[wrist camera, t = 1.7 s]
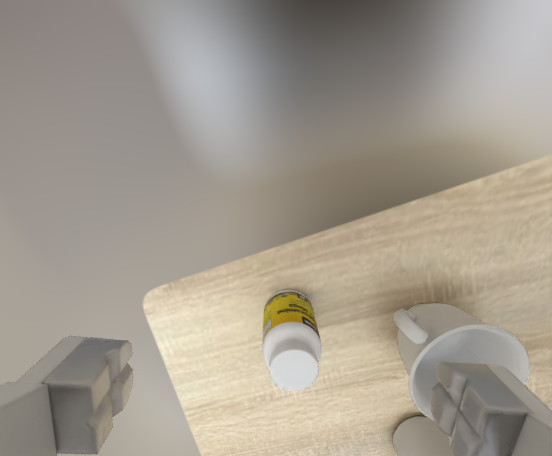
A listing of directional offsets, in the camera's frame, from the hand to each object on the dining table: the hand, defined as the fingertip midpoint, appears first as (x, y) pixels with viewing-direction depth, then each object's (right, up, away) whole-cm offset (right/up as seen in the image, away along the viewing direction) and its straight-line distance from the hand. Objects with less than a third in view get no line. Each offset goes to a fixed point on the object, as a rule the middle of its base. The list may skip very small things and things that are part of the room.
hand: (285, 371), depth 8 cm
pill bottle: (+1, -7, +31) cm, 32 cm away
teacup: (+18, -8, +32) cm, 37 cm away
